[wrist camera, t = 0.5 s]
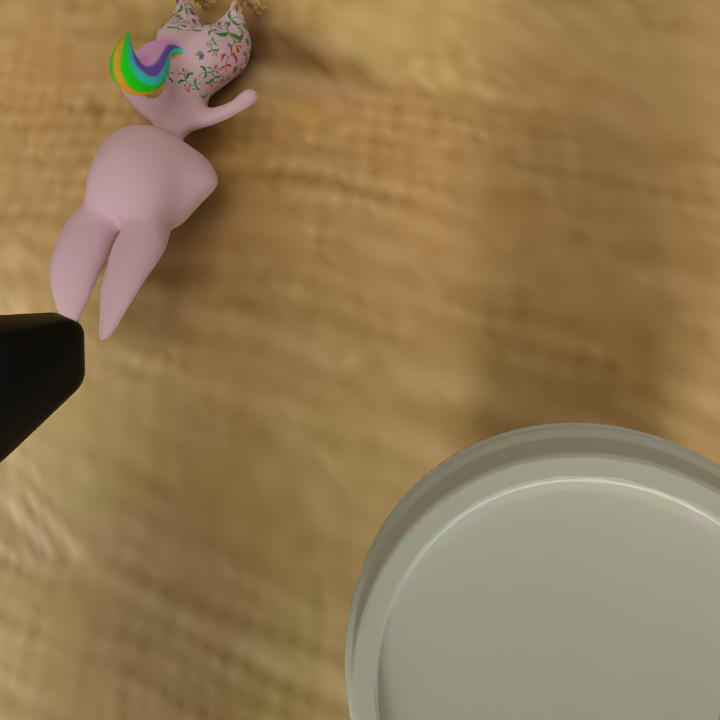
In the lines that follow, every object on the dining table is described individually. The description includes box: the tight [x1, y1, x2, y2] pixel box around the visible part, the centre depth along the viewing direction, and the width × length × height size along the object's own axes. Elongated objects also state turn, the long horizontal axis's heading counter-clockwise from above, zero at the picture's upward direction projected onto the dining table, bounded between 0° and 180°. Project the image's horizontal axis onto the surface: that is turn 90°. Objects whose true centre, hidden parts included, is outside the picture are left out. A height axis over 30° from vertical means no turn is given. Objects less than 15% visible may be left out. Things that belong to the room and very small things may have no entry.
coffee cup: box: [345, 423, 720, 720], centre depth 16 cm, size 9×9×12 cm
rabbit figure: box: [50, 0, 266, 340], centre depth 24 cm, size 6×6×15 cm
